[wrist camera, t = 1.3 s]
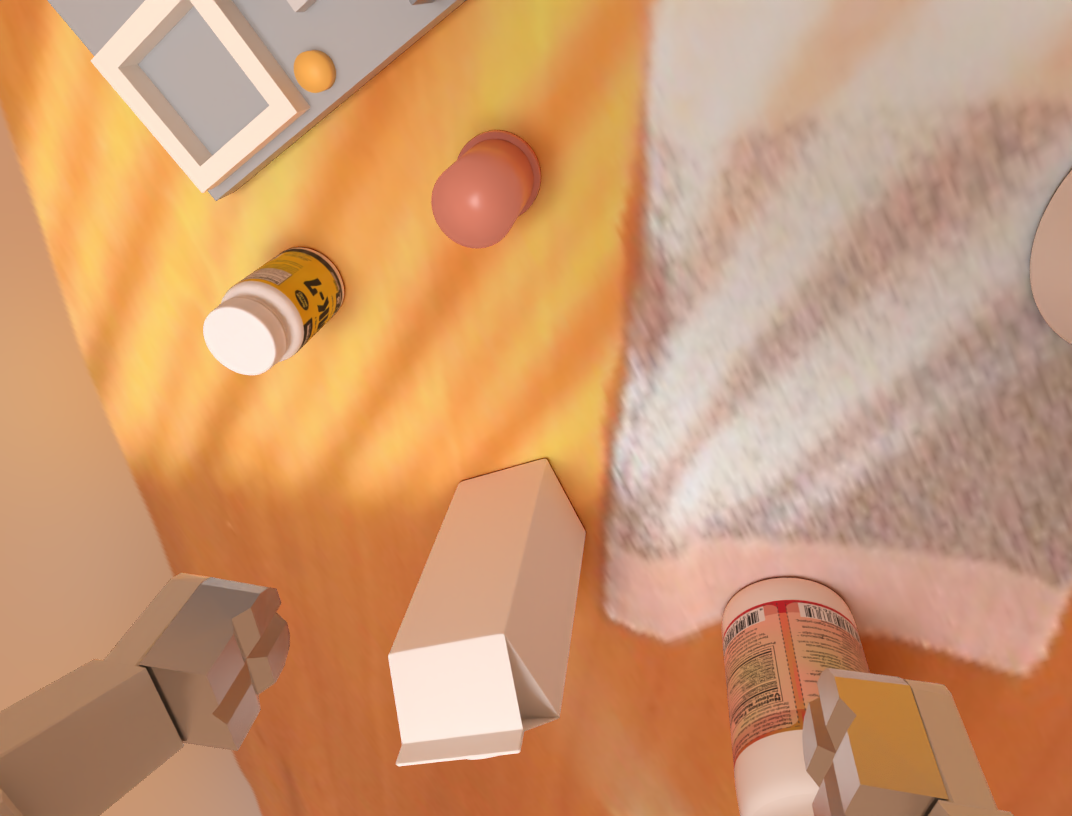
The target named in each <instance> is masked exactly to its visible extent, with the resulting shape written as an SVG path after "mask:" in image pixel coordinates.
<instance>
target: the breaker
mask: <svg viewBox="0 0 1072 816" xmlns="http://www.w3.org/2000/svg"><path fill="white" fill-rule="evenodd" d="M434 1H435V0H409V2H410V3H411V5H418V4H427V3H433V2H434Z"/></svg>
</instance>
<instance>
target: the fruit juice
mask: <svg viewBox="0 0 1072 816" xmlns="http://www.w3.org/2000/svg"><path fill="white" fill-rule="evenodd" d="M722 640H723V651H724V662H725V673H726V684H727V695H728V706H729V718H730V728H731V739H732V750H733V762H734V778H735V787H736V794H737V800H738V806H739V811H740V816H814V813H813V808H812V803H813V801H814V799H815V796H816V794H817V792H818V790H819V787H818V785H817V784H816V783H815V781H814V780H813V779H812V778H811V776H810V775H809V774H808V773H807V771H806V767H805V761H804V754H803V741H802V733H803V723H804V716H805V713H806V710H807V707H808V704H809V702H811V701H813V700H815V699H816V698H818V697H820V695H819V690H818V685H817V682H818V680H819V677H820V675H821V673H822V671H824V670H825V669H826V668H833V669H840V670H848V671H856V672H863V673H870V671H869V668H868V664H867V661H866V658H865V654H864V651H863V647H862V644H861V641H860V637H859V634H858V631H857V627H856V624H855V621H854V618H853V616H852V614H851V612H850V610H849V608H848V606H847V605H846V603H845V602H844V601H843V600H842V598H841V597H840V596H839V595H837V594H836V593H835V592H834V591H832V590H831V589H829V588H828V587H826V586H824V585H822V584H819V583H817V582H814V581H810V580H806V579H800V578H773V579H768V580H763V581H760V582H757V583H754V584H752V585H749V586H747V587H746V588H744V589H742V590H741V591H739V592H738V593H737V594H736V595H735V596H734V597H733V598H732V599H731V600H730V601H729V603H728V605H727V606H726V608H725V611H724V614H723V619H722Z"/></svg>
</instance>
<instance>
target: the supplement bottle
mask: <svg viewBox="0 0 1072 816" xmlns="http://www.w3.org/2000/svg"><path fill="white" fill-rule="evenodd" d="M343 299H344V286H343V282H342V279H341V276H340V274H339V272H338V270H337V269H336V267H335V266H334V264H333V263H332V262H331V261H330V260H329V259H328V258H326V257H325V256H324V255H322V254H321V253H319V252H317V251H314V250H312V249H308V248H299V247H298V248H291V249H288V250H285V251H283V252H282V253H280V254H279V255H277V256H276V257H274V258H273V259H272V260H270V261H269V262H267V263H266V264H264V265H263V266H261V267H260V268H259V269H257V270H256V271H254V272H253V273H251V274H250V275H248V276H247V277H246V278H244V279H243V280H241V281H240V282H238V283H237V284H235V285H234V286H233V287H231V288H230V289H229V290H228V291H227V293H226V294H225V295H224V297H223V299H222V302H221V304H220V305H219V306H218V307H217V308H215V309H214V310H213V311H212V312H210V314H209V315H208V316H207V318H206V320H205V322H204V327H203V334H204V338H205V342H206V344H207V347H208V348H209V350H210V352H211V353H212V354H213V356H214V357H215V358H216V359H217V360H218V361H219V362H220V363H221V364H223V365H224V366H225V367H227V368H228V369H230V370H232V371H234V372H237V373H240V374H244V375H258V374H261V373H264V372H266V371H267V370H269V369H270V368H271V367H272V366H273V365H275V364H276V363H278V362H280V361H284V360H286V359H288V358H290V357H292V356H293V355H294V354H295V353H297V352H298V351H299V350H300V349H301V348H302V347H303V346H304V345H305V344H306V343H307V342H308V341H309V340H310V339H311V338H312V337H313V336H314V335H315V334H316V333H317V332H318V331H319V330H320V329H321V328H322V327H323V326H324V325H325V324H326V322H327V321H328V320H329V319H330V318H332V317H333V316H334V315H335V313H336V312H337V311H338V310H339V308H340V307H341V305H342V302H343Z"/></svg>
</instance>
